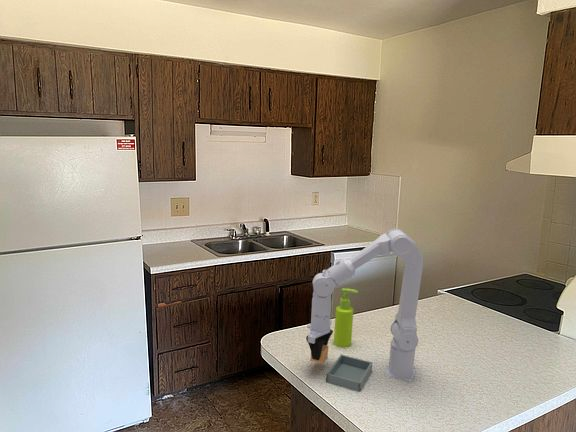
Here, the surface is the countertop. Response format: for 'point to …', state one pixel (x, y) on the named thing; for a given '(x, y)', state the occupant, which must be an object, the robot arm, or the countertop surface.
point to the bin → (349, 372)
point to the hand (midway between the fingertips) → (318, 355)
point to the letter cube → (322, 355)
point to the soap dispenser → (344, 320)
